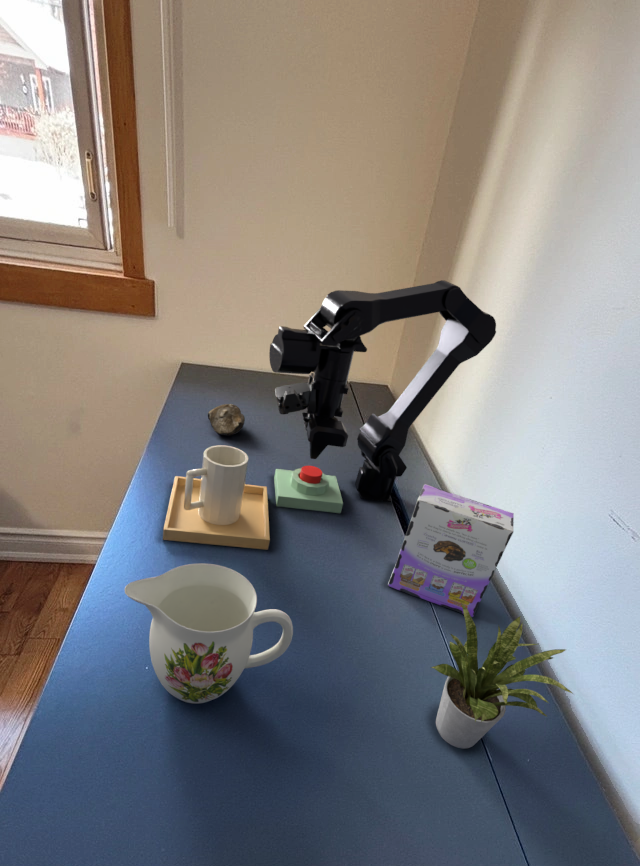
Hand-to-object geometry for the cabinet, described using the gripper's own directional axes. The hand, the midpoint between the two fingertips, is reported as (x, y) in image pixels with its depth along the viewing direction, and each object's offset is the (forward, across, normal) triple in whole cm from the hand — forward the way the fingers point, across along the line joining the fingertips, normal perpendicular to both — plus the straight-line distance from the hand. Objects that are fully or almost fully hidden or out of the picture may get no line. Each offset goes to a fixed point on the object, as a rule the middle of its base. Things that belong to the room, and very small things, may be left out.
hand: (312, 458), depth 97 cm
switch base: (+8, 0, 0) cm, 8 cm away
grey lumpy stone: (+8, -24, -16) cm, 30 cm away
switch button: (+5, 0, 0) cm, 5 cm away
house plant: (+8, +51, +14) cm, 53 cm away
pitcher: (+8, +44, -16) cm, 47 cm away
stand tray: (+8, +10, -16) cm, 20 cm away
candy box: (+8, +25, +18) cm, 32 cm away
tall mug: (+8, +10, -17) cm, 21 cm away
